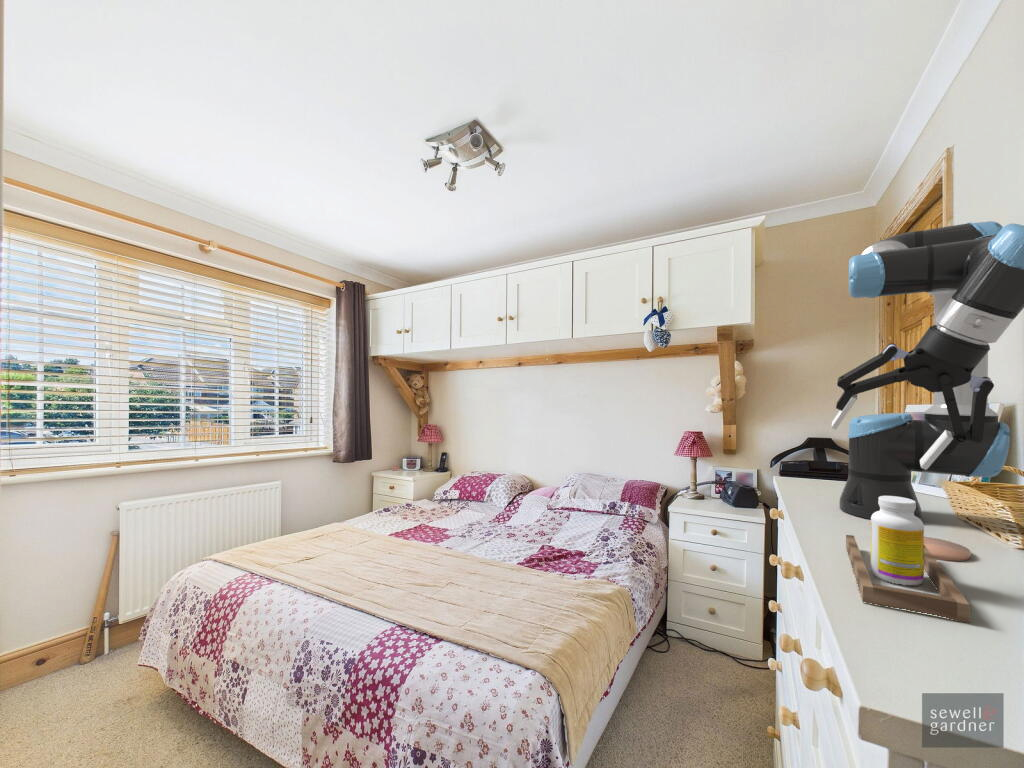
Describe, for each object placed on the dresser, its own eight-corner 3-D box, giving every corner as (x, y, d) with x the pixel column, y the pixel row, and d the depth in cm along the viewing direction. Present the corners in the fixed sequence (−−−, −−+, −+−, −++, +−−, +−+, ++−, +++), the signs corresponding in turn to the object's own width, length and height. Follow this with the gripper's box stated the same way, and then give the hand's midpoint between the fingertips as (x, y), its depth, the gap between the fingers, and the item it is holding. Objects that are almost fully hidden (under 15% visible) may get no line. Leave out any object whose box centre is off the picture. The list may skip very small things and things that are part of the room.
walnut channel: (846, 547, 90) (846, 534, 90) (924, 559, 84) (924, 545, 84) (862, 602, 68) (862, 585, 68) (969, 623, 63) (969, 604, 63)
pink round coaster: (893, 537, 95) (893, 532, 95) (960, 546, 90) (960, 541, 90) (903, 554, 86) (903, 549, 86) (978, 565, 81) (978, 559, 81)
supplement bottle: (934, 589, 72) (934, 505, 72) (884, 585, 74) (885, 504, 73) (907, 571, 79) (907, 494, 79) (862, 568, 80) (862, 493, 80)
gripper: (868, 307, 72) (798, 418, 83) (1079, 378, 62) (967, 494, 73) (868, 298, 78) (802, 403, 89) (1061, 362, 68) (960, 472, 78)
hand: (876, 445), depth 81 cm, fingers open, 13 cm apart
